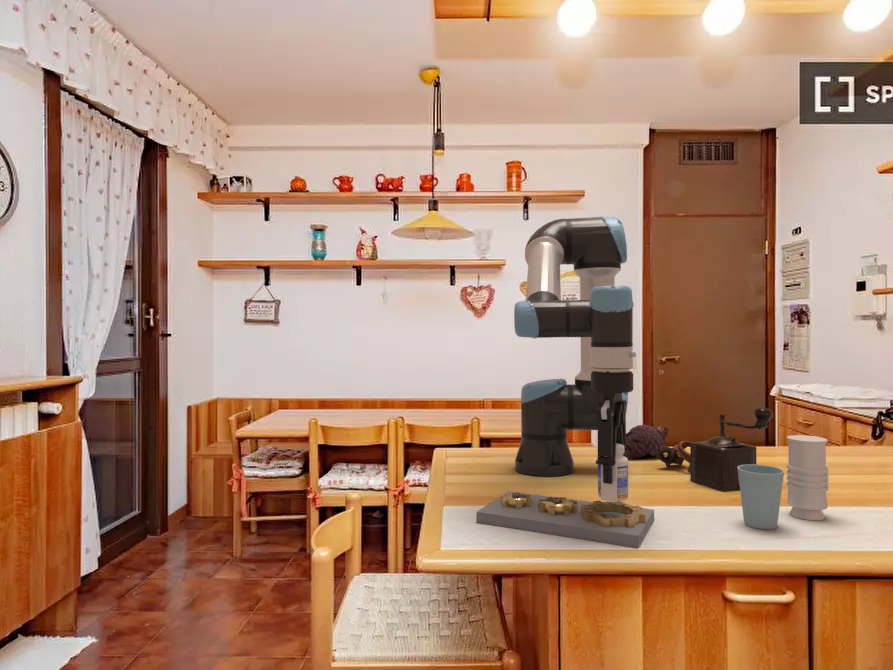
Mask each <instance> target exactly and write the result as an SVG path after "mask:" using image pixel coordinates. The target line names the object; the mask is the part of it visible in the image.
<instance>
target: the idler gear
mask: <svg viewBox="0 0 893 670" xmlns="http://www.w3.org/2000/svg"><path fill="white" fill-rule="evenodd" d="M514 492H515V493H511V494H508V495H503V494H501V495H500V496H499V497H501V503H502V506H503V507H513V508H516V509H522V507H526V506H527V507H531V506H532V498H530V495H528V494H529V493H526V494H524V495H523V494H520V493H521V492H518V493H517V491H514Z"/></svg>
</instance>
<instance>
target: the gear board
mask: <svg viewBox="0 0 893 670" xmlns="http://www.w3.org/2000/svg"><path fill="white" fill-rule="evenodd" d="M515 492H517V491H509V490H508V491H506V492H505V493H503V494H502V495H508V494H511V493H515ZM517 493H520V494H523V495H524V494H528V495H530V498H532V506H531V507H527V506H526V507H522V509H516V508H513V507H503V506H502V503H501V497H500V496H499V497H497V498H495V499H494V500H492V501H490V502H489V503H488V504H486V505H485V506H484V507H482V508H480V509H479V510H477V511H476V523H478V524H485V525H493V526H498V527H504V528H505V527H506V528H511V529H515V530H516V529H518V530H522V531H530V532H537V533H543V534H548V535H554V536H562V537H568V538H569V537H570V538H575V539H581V540H588V541H593V542H601V543H606V544H614V545H620V546H626V547H631V548H637V549H639V548H640V547H641V544H642V543H643V540H644V539H645V537H646V535H647V534H648V532H649V530H650V529H651V527H652V525H653V523H654V521H655V509H651V508H644V507H642V508H643V513H647V521H646V523H642V522H640V523H638V524H635V527H630V528H628V527H626V526H610V527H604V526H602V524H598V523H595V522H592V521H590V522H586V521H585V520H583V514H581V506H582V505H588V504H592V503H593V501H589V500H588V501H587V500H580V499H579V500H578V499H572V498H567V499H568V500H575V501H577V504H578V512H577V513H570V515H568V516H564V515H557V514H556V515H555V516H553V515H548V513H546V512H543V513H541V512H539V511H538V500H539V499H542V500H545V499H546V497H552V498H559V497H557V496H549V495H540V494H534V493H525V492H517ZM599 513H601V514H604V515H612V516H625V515H628V514H625V513H621V512H613V511H605V512H599Z"/></svg>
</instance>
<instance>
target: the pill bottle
mask: <svg viewBox="0 0 893 670" xmlns="http://www.w3.org/2000/svg"><path fill="white" fill-rule="evenodd" d="M624 452H625V450H624V445H622V444H616V456H615V461H616V463H615V465H617V501H621V502H624V501H625V500H628V499H629V459H628V457H624V456H623V454H624ZM605 457H607V456H605ZM597 479H598V480H597V493H598V494H597V495H598V497H599V499H601V464H597Z"/></svg>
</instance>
